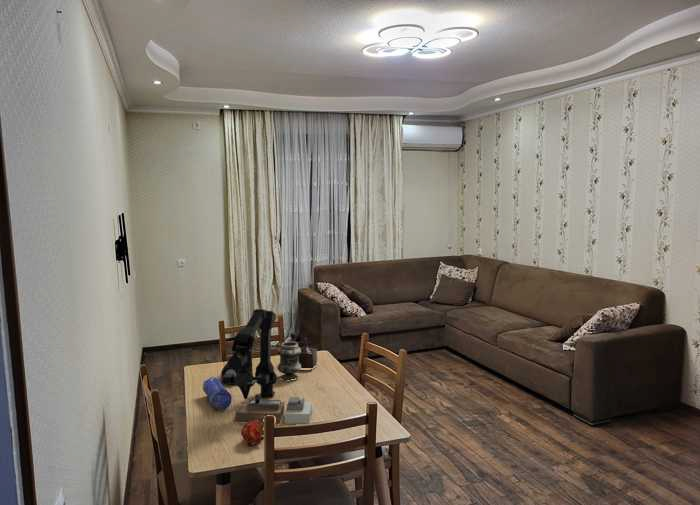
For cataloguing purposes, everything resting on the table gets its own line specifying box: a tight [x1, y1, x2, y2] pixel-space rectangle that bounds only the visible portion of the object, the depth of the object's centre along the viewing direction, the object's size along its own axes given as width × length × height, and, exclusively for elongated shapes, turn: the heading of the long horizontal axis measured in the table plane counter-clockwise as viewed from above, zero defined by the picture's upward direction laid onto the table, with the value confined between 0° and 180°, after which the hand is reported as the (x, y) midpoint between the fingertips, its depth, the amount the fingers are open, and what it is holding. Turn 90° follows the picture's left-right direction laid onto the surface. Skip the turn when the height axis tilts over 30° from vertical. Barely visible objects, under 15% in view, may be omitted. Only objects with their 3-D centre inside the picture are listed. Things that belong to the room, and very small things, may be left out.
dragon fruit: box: [240, 420, 265, 447], centre depth 189 cm, size 8×8×12 cm
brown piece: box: [289, 331, 318, 368], centre depth 277 cm, size 16×11×18 cm
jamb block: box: [283, 396, 313, 424], centre depth 212 cm, size 12×10×8 cm
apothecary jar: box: [277, 341, 301, 381], centre depth 259 cm, size 12×12×18 cm
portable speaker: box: [220, 354, 238, 385], centre depth 261 cm, size 26×10×10 cm, turn 1°
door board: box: [234, 399, 285, 424], centre depth 212 cm, size 12×18×6 cm, turn 88°
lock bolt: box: [251, 393, 280, 407], centre depth 212 cm, size 12×2×5 cm, turn 88°
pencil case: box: [202, 376, 233, 411], centre depth 227 cm, size 22×9×10 cm, turn 27°
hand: (245, 399), depth 212 cm, fingers closed
